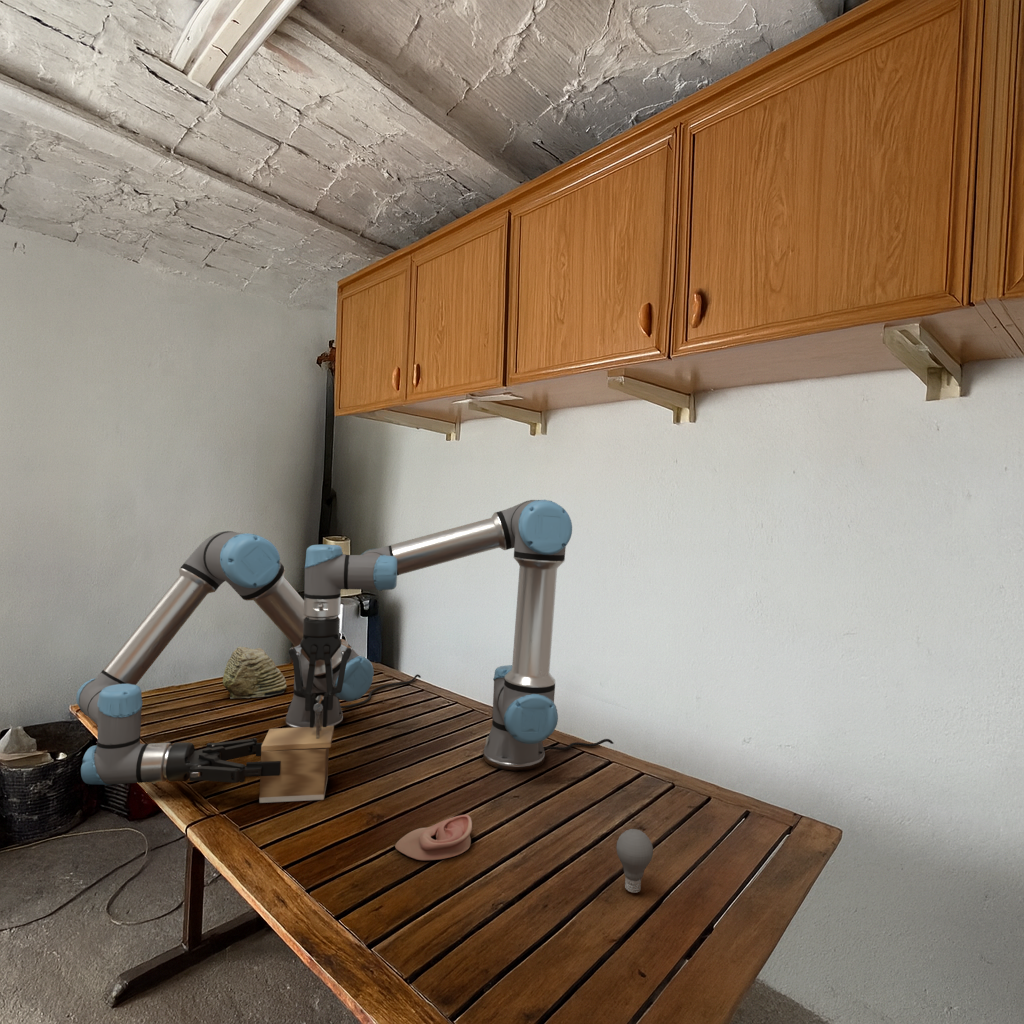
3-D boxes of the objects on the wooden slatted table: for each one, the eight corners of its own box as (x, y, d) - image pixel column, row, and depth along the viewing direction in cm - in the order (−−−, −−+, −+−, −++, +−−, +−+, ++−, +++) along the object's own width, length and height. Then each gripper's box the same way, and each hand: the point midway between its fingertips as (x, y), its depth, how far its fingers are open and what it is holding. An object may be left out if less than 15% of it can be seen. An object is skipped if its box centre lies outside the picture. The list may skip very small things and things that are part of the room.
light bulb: (610, 879, 108) (613, 822, 108) (644, 879, 109) (647, 822, 109) (619, 902, 102) (622, 840, 102) (655, 901, 103) (658, 840, 103)
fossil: (218, 695, 195) (220, 647, 195) (278, 685, 208) (279, 640, 207) (228, 703, 189) (230, 653, 188) (289, 692, 201) (290, 645, 201)
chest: (327, 779, 142) (329, 732, 142) (323, 799, 133) (325, 749, 132) (267, 781, 139) (269, 734, 139) (259, 802, 130) (261, 751, 130)
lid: (333, 730, 142) (334, 691, 142) (330, 747, 133) (331, 705, 132) (269, 733, 139) (270, 694, 139) (261, 751, 130) (261, 708, 130)
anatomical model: (389, 833, 113) (412, 803, 124) (388, 855, 113) (411, 823, 124) (460, 844, 110) (477, 813, 121) (459, 867, 110) (476, 833, 121)
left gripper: (185, 758, 142) (290, 754, 146) (150, 806, 120) (274, 799, 125) (186, 724, 142) (291, 722, 146) (151, 766, 120) (276, 762, 124)
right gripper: (282, 620, 131) (279, 732, 132) (357, 619, 134) (353, 730, 135) (287, 613, 138) (284, 720, 139) (358, 613, 141) (355, 717, 142)
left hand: (283, 757), depth 135 cm, fingers closed on chest, 10 cm apart
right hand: (318, 724), depth 137 cm, fingers closed on lid, 2 cm apart
